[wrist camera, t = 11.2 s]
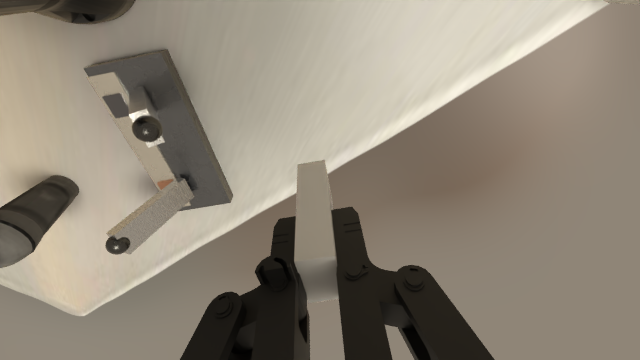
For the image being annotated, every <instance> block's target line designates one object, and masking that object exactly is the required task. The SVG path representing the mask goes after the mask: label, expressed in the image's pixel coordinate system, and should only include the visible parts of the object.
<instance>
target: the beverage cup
mask: <svg viewBox="0 0 640 360" xmlns="http://www.w3.org/2000/svg"><path fill="white" fill-rule="evenodd" d="M78 193H79V188H78V186H77V185H76V184H75V183H74V182H73V181H72V180H70V179H68V178H66V177H63V176H56V175H55V176H51V177H50V178H49V179H47V180H45V181H42V182H41V183H39V184H38V185H36V186H34V187H33V188H31V189H30V190H28V191H26V192H25V193H23V194H22V195H20V196H18V197H17V198H15V199H13V200H12V201H10V202H9V203H7V204H5V205H4V206H2V207H1V208H0V268H3V267H7V266H10V265H13V264H15V263H17V262H19V261H20V260H22V259H23V258H25V257H26V256H28V255H29V254H31V253H32V252H34V250H35V248H36V247H37V245H38V244H39V242H40V241H41V239H42V237H43V235H44V234H45V233H46V232H47V231H48V230H49V228H50V227H51V226H52V225H53V224H54V223H55V221H56V220H57V219H58V218H59V217H60V216H61V214H62V213H63V212H64V211H65V210H66V208H67V207H68V206H69V205H70V204H71V203H72V201H73V200H74V198H75V197H76V196H77V195H78Z"/></svg>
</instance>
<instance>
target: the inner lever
mask: <svg viewBox="0 0 640 360" xmlns="http://www.w3.org/2000/svg"><path fill="white" fill-rule="evenodd" d="M129 116H130V118H131V119H132V121H133V123H132V132H133V134H134V136H135V137H136V138H137V139H139V140H141V141H143V142H145V143H146V144H147V146H148V148H150V147H153V146H155V145H158V144H161V143H164V142H165V140H164V137H163V127H162V125H161V123H160V122H159V118H158V114H157V111H156V110H155V108H154V106H153V104H152V102H151V100H150V98H149V96H148V95H147V93H146V91H145V89H144V87H143V86H141V87H137V88H134V89H130V90H129Z"/></svg>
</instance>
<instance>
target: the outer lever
mask: <svg viewBox="0 0 640 360" xmlns="http://www.w3.org/2000/svg"><path fill="white" fill-rule="evenodd" d="M193 197H195V196H194V195H193V193H192V191H191V189H190V187H189V186H188V184H187V182H186V180H185V179H184V178H176V179H175V180H174V181H172V182H171V183H170V184H168V185H167V186H166V187H165V188H163V189H162V190H161V191H159V192H158V193H157V194H156V195H154V196H153V197H152V198H150V199H149V200H148V201H147V202H145V203H144V204H143V205H142V206H140V207H139V208H138V209H136V210H135V211H134V212H133V213H131V214H130V215H129V216H127V217H126V218H125V219H124V220H122V221H121V222H120V223H118V224H117V225H116V226H115V227H113V228H112V229H111V230H110V231H108V232H107V233H106V234H107V235H108V236H109V237H110V238H108V240H107V241H106V249H107V251H108V252H110V253H112V254H122V253H127V254H131V253H132V252H133V251H134V250H135V249H137V248H138V247H139V246H140V245H141V244H142V243H143V242H144V241H145V240H147V239H148V238H149V237H150V236H151V235H152V234H153V233H154V232H156V231H157V230H158V229H159V228H160V227H161V226H162V225H163V224H164V223H166V222H167V221H168V220H169V219H170V218H171V217H172V216H173V215H174V214H176V213H177V212H178V211H179V210H180V209H181V208H182V207H183V206H185V205H186V204H187V203H188V202H189V201H190V200H191V199H192V198H193Z"/></svg>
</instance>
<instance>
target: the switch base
mask: <svg viewBox="0 0 640 360" xmlns="http://www.w3.org/2000/svg"><path fill="white" fill-rule="evenodd" d="M84 70H85V72H86V73H87V75H88V76H89V77H87V79H88V81H89V82H90V84H91V85H92V87H93V88H94V90H95V92H96V93H97V95H98V96H99V98H100V99H101V101H102V102H103V104H104V106H105V107H106V109H107V110H108V112H109V113H110V115H111V117H112V118H113V120H114V121H115V123H116V124H117V126H118V127H119V129H120V131H121V132H122V134H123V135H124V137H125V138H126V140H127V142H128V143H129V145H130V146H131V148H132V149H133V151H134V152H135V154H136V156H137V157H138V159H139V160H140V162H141V163H142V165H143V167H144V168H145V170H146V171H147V173H148V174H149V176H150V177H151V179H152V181H153V182H154V184H155V185H156V187H157V188H158V190H159V191H161V190H162V189H163V188H165V187H166V186H167V185H168V184H170V183H171V182H172V181H174V180H175V179H176V178H184V179H185V180H186V182H187V184H188V186H189V187H190V189H191V191H192V193H193V195H194V196H195V197H193V198H192V199H191V200H190V201H189V202H188V203H187V204H186V205H185V206H183V207H182V208H181V209H180V210H179V211H183V210H189V209H195V208H201V207H207V206H213V205H219V204H226V203H231V200H232V197H233V194H232V192H231V190H230V187H229V185H228V183H227V181H226V178H225V176H224V174H223V172H222V170H221V167H220V165H219V163H218V161H217V159H216V156H215V154H214V152H213V150H212V147H211V145H210V143H209V141H208V139H207V136H206V134H205V132H204V130H203V127H202V125H201V123H200V121H199V119H198V116H197V114H196V112H195V110H194V108H193V105H192V103H191V101H190V99H189V96H188V94H187V92H186V90H185V88H184V85H183V83H182V81H181V79H180V77H179V74H178V72H177V70H176V68H175V65H174V63H173V61H172V59H171V57H170V54H169V52H168V50H162V51H157V52H152V53H147V54H143V55H138V56H133V57H128V58H123V59H118V60H113V61H108V62H103V63H98V64H93V65H91V66H88V67H86V68H84ZM141 86H143V87H144V89H145V91H146V93H147V95H148V96H149V98H150V100H151V102H152V104H153V106H154V108H155V110H156V111H157V114H158V118H159V122H160V123H161V125H162V127H163V137H164V140H165V142H164V143H161V144H158V145H155V146H153V147H150V148H148V146H147V144H146V143H145V142H143V141H141V140H139V139H137V138H136V137H135V136H134V134H133V132H132V123H133V121H132V119H131V118H130V116H129V90H130V89H134V88H137V87H141Z"/></svg>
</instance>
